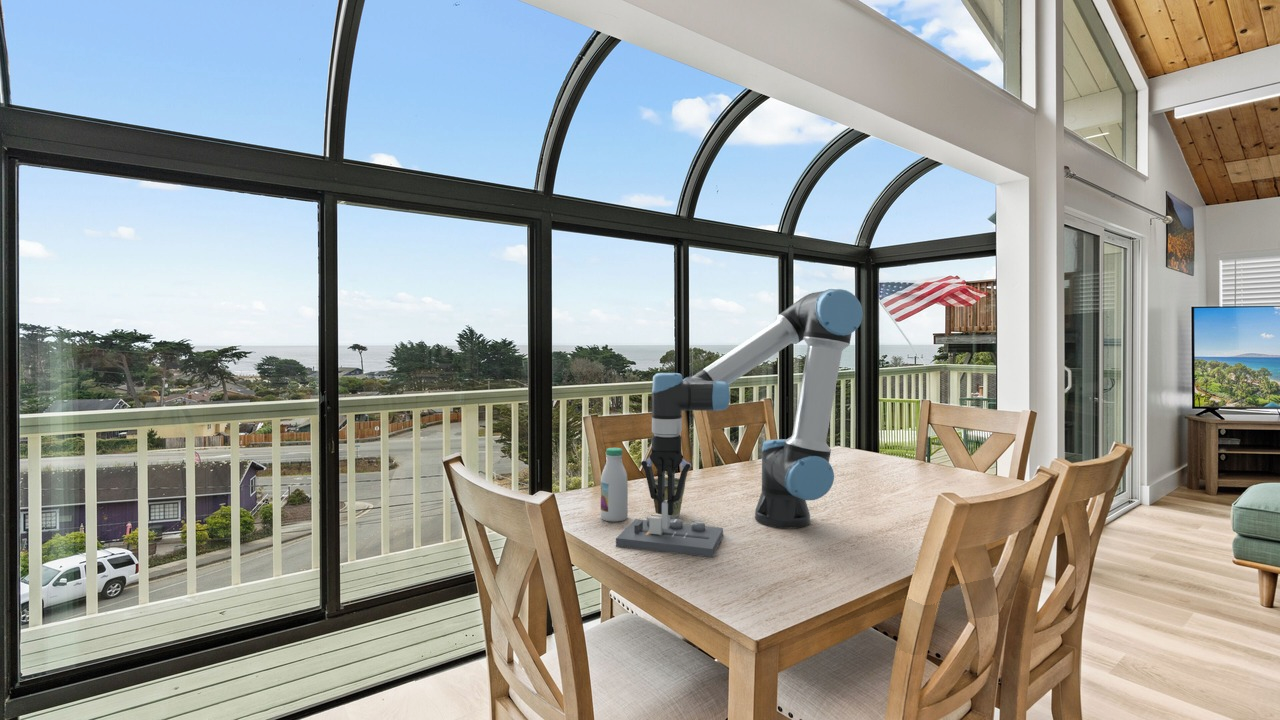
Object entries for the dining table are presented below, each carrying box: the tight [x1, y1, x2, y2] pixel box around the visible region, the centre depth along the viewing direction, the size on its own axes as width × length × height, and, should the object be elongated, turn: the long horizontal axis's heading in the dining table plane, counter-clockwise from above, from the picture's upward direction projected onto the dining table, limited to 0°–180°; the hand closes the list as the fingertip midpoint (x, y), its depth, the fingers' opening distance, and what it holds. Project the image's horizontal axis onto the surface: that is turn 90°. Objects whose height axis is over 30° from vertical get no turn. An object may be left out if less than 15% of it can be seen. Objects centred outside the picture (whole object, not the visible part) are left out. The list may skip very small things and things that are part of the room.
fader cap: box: [649, 512, 665, 535], centre depth 148 cm, size 3×4×4 cm
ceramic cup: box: [653, 476, 686, 519], centre depth 171 cm, size 13×10×10 cm
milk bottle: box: [600, 447, 629, 523], centre depth 166 cm, size 8×8×20 cm
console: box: [615, 516, 724, 558], centre depth 148 cm, size 24×16×4 cm, turn 73°
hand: (665, 527), depth 147 cm, fingers closed
